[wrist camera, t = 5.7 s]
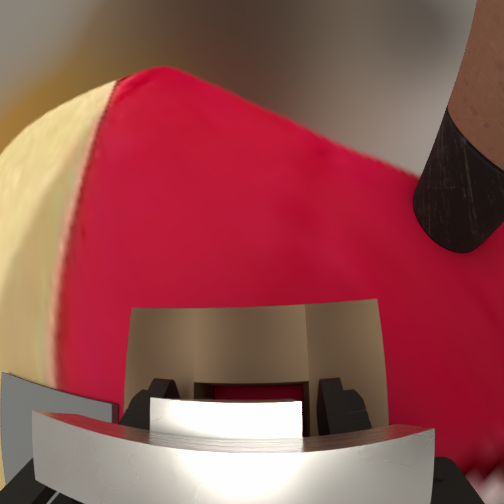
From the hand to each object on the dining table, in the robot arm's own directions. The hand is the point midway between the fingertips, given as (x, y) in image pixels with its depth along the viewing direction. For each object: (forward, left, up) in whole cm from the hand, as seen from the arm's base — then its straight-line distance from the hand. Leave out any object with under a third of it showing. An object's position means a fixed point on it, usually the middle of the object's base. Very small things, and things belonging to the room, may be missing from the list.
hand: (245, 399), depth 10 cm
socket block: (-1, +2, -6) cm, 6 cm away
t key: (-1, +2, -6) cm, 6 cm away
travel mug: (-11, -16, -6) cm, 20 cm away
